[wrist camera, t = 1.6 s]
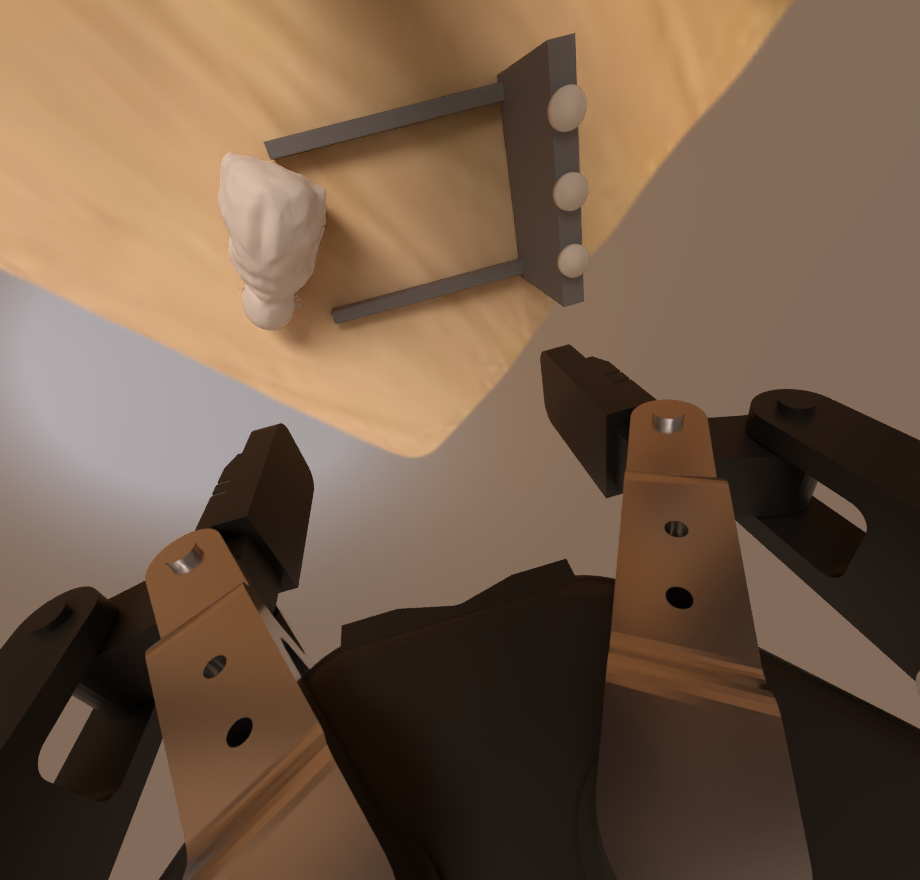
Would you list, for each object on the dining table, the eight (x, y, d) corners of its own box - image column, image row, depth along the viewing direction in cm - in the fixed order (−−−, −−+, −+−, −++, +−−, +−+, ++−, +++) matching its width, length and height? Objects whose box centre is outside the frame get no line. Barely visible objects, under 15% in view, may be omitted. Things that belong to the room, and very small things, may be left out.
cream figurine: (326, 191, 24) (297, 367, 31) (337, 173, 31) (312, 321, 37) (203, 144, 22) (201, 345, 28) (244, 136, 28) (234, 300, 35)
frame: (520, 69, 29) (584, 28, 21) (539, 271, 37) (590, 302, 29) (263, 134, 29) (218, 120, 20) (338, 325, 37) (329, 374, 28)
